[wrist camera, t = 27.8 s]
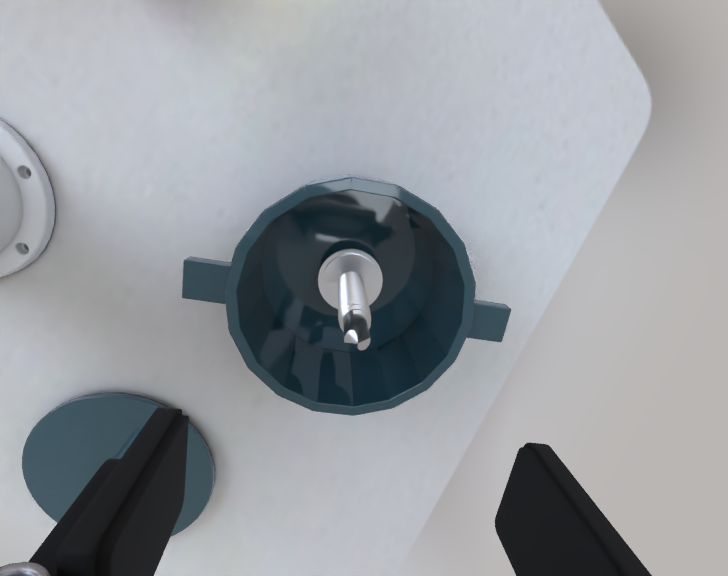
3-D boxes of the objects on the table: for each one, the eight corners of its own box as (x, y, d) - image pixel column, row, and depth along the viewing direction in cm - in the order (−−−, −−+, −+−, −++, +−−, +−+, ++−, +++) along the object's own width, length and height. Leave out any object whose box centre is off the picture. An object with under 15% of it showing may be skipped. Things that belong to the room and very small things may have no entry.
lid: (26, 378, 33) (-43, 424, 27) (222, 400, 35) (199, 448, 29) (37, 527, 37) (-20, 595, 31) (210, 539, 39) (188, 606, 33)
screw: (384, 296, 32) (326, 307, 32) (374, 238, 31) (313, 250, 31) (413, 377, 20) (318, 395, 20) (399, 287, 18) (296, 306, 18)
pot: (227, 152, 29) (183, 146, 21) (492, 200, 31) (547, 212, 23) (213, 339, 33) (173, 395, 25) (447, 369, 35) (481, 430, 27)
